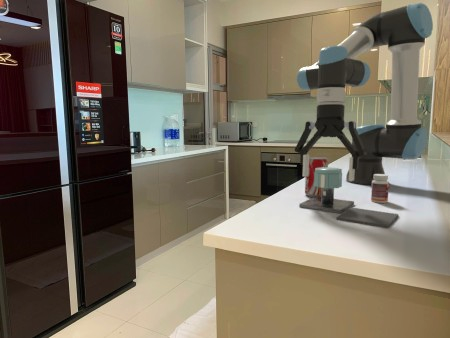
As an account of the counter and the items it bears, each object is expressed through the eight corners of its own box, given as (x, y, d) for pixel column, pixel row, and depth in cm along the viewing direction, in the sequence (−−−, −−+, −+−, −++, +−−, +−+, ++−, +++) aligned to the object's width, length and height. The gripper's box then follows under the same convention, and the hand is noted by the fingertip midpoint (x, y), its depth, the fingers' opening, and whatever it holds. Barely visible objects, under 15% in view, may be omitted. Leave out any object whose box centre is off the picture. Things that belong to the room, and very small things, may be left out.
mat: (351, 209, 93) (351, 207, 93) (398, 216, 86) (398, 214, 86) (336, 219, 84) (336, 217, 84) (388, 228, 76) (388, 225, 76)
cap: (320, 182, 102) (320, 166, 101) (344, 185, 97) (345, 168, 97) (309, 186, 96) (310, 169, 95) (335, 189, 91) (336, 171, 90)
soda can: (300, 195, 112) (301, 157, 111) (316, 192, 116) (317, 156, 114) (314, 199, 106) (316, 159, 104) (331, 196, 109) (332, 157, 108)
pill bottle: (389, 203, 100) (391, 176, 99) (372, 202, 101) (374, 175, 100) (385, 199, 104) (387, 173, 103) (369, 199, 105) (370, 173, 104)
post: (315, 199, 106) (316, 168, 104) (354, 204, 98) (355, 171, 97) (299, 207, 96) (300, 173, 95) (340, 213, 89) (342, 177, 88)
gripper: (284, 105, 98) (283, 175, 101) (374, 101, 83) (369, 184, 86) (295, 106, 104) (293, 172, 107) (381, 103, 89) (376, 180, 91)
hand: (327, 178), depth 96 cm, fingers open, 13 cm apart
